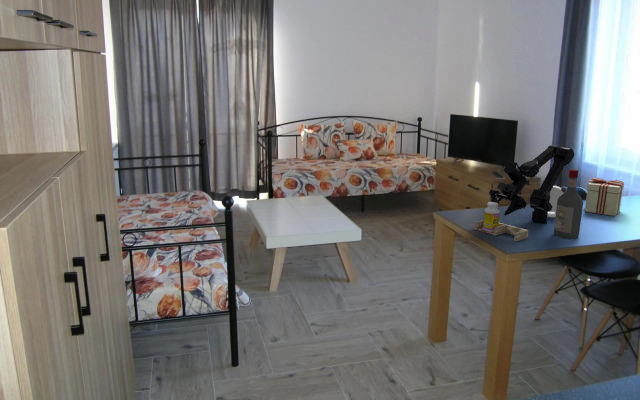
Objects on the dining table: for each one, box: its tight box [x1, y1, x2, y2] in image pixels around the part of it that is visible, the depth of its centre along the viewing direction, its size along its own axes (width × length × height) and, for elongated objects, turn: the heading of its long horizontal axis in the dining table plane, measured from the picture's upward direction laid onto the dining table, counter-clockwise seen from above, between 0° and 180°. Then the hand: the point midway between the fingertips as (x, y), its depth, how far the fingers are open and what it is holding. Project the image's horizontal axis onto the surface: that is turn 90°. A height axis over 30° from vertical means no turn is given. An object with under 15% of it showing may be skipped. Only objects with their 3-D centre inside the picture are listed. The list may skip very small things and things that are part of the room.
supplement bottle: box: [483, 201, 501, 232], centre depth 245 cm, size 7×7×13 cm
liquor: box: [553, 168, 584, 240], centre depth 236 cm, size 9×9×30 cm
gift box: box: [584, 177, 625, 217], centre depth 280 cm, size 17×18×17 cm
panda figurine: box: [547, 185, 567, 218], centre depth 272 cm, size 12×11×15 cm
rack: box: [474, 219, 529, 242], centre depth 242 cm, size 22×9×4 cm, turn 37°
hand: (496, 212), depth 246 cm, fingers open, 9 cm apart
